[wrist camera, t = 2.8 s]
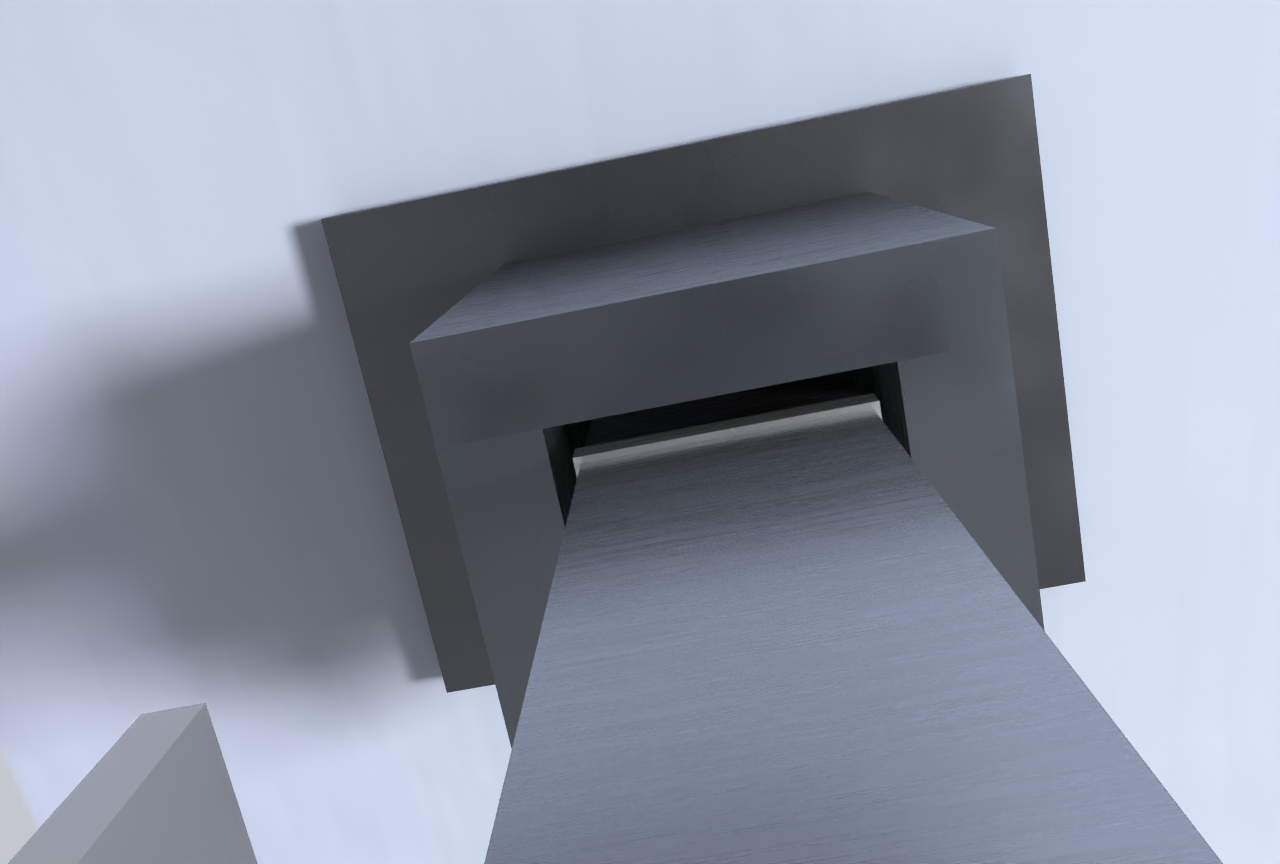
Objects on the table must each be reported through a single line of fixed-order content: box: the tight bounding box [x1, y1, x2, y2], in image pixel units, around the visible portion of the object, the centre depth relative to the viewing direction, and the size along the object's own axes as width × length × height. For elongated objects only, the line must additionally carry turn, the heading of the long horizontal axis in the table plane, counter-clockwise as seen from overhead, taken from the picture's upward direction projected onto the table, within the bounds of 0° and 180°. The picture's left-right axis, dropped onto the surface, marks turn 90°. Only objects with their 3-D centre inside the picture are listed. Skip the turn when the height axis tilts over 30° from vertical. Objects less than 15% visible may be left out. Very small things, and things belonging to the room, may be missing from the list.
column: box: [484, 372, 1223, 864], centre depth 16 cm, size 5×5×22 cm
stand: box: [322, 74, 1085, 748], centre depth 22 cm, size 12×16×11 cm
